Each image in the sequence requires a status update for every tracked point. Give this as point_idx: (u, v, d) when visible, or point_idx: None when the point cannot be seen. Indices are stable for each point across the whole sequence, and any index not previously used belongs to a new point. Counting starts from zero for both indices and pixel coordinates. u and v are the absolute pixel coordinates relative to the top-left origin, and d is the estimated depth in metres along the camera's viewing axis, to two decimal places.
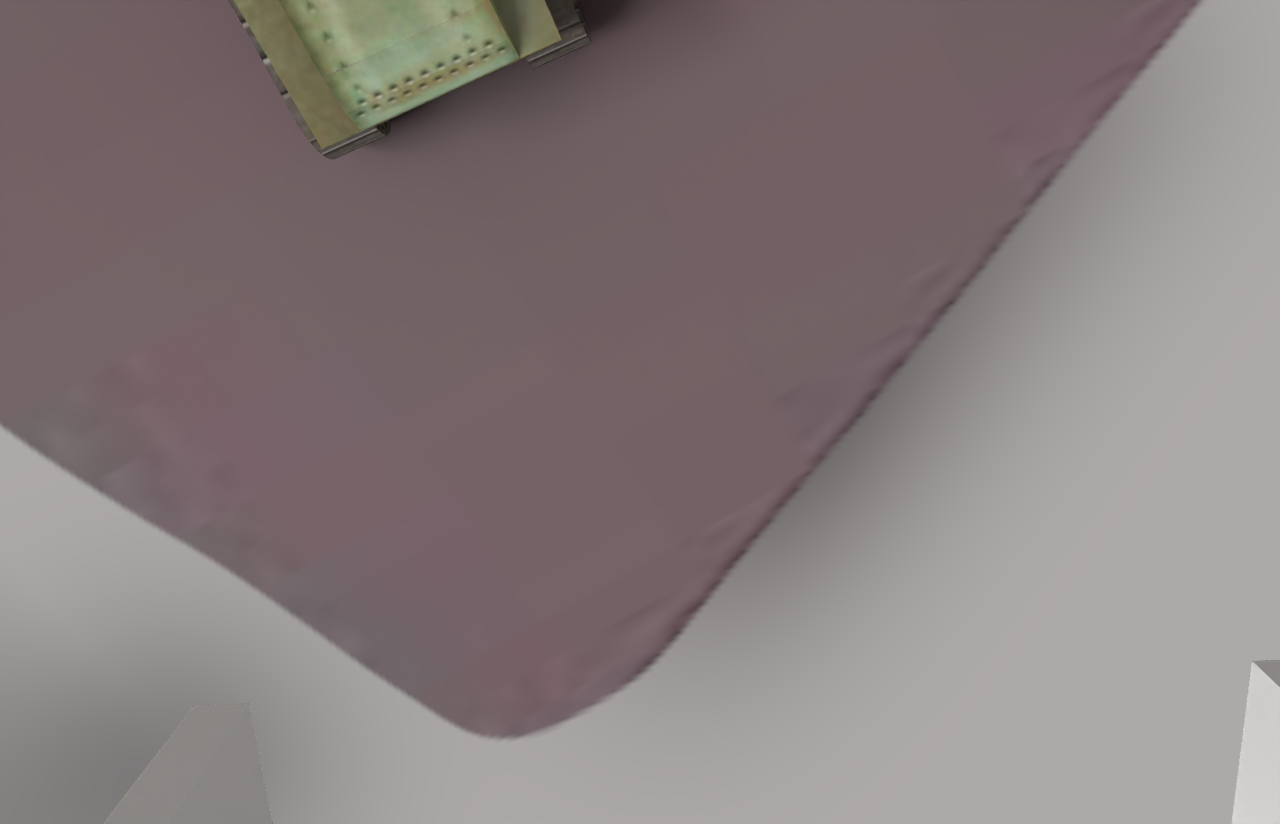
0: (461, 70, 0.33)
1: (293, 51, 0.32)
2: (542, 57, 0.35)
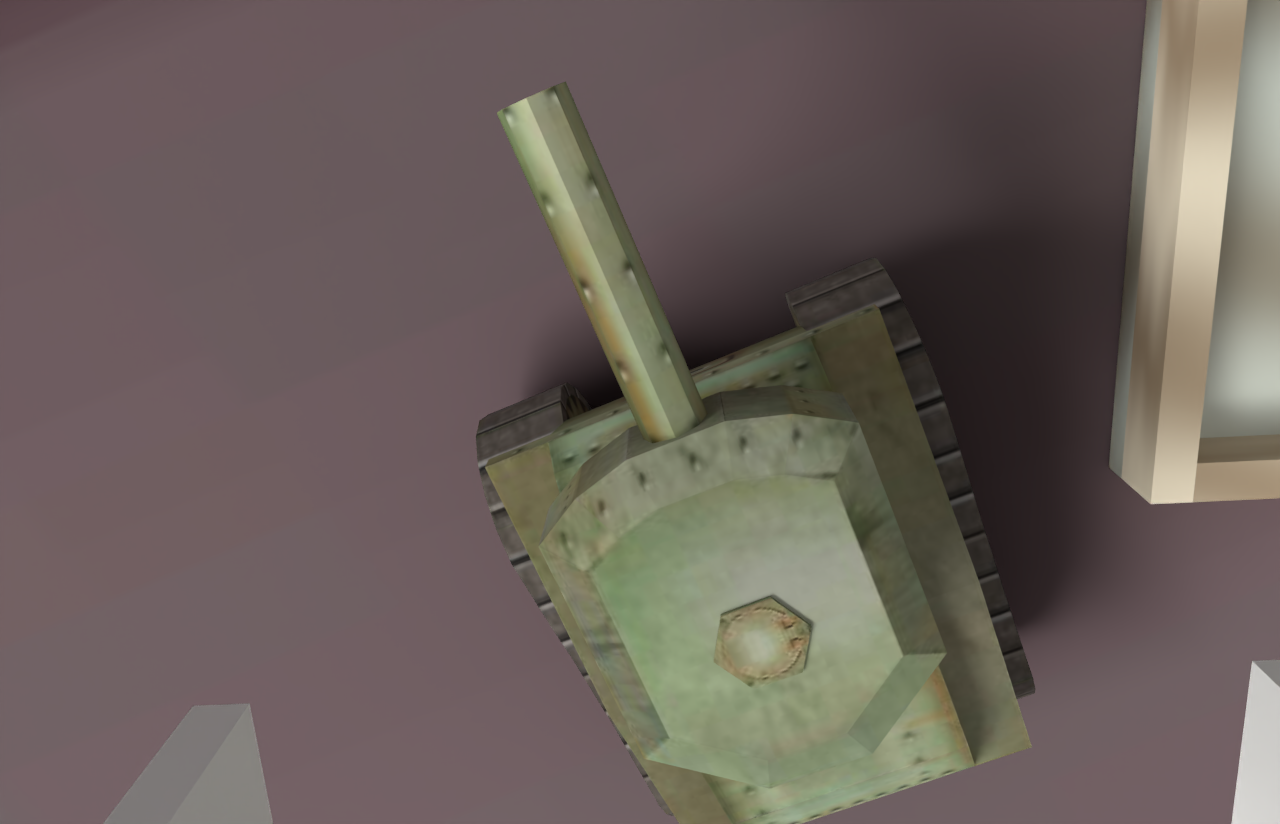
0: (901, 789, 0.25)
1: (687, 777, 0.25)
2: None
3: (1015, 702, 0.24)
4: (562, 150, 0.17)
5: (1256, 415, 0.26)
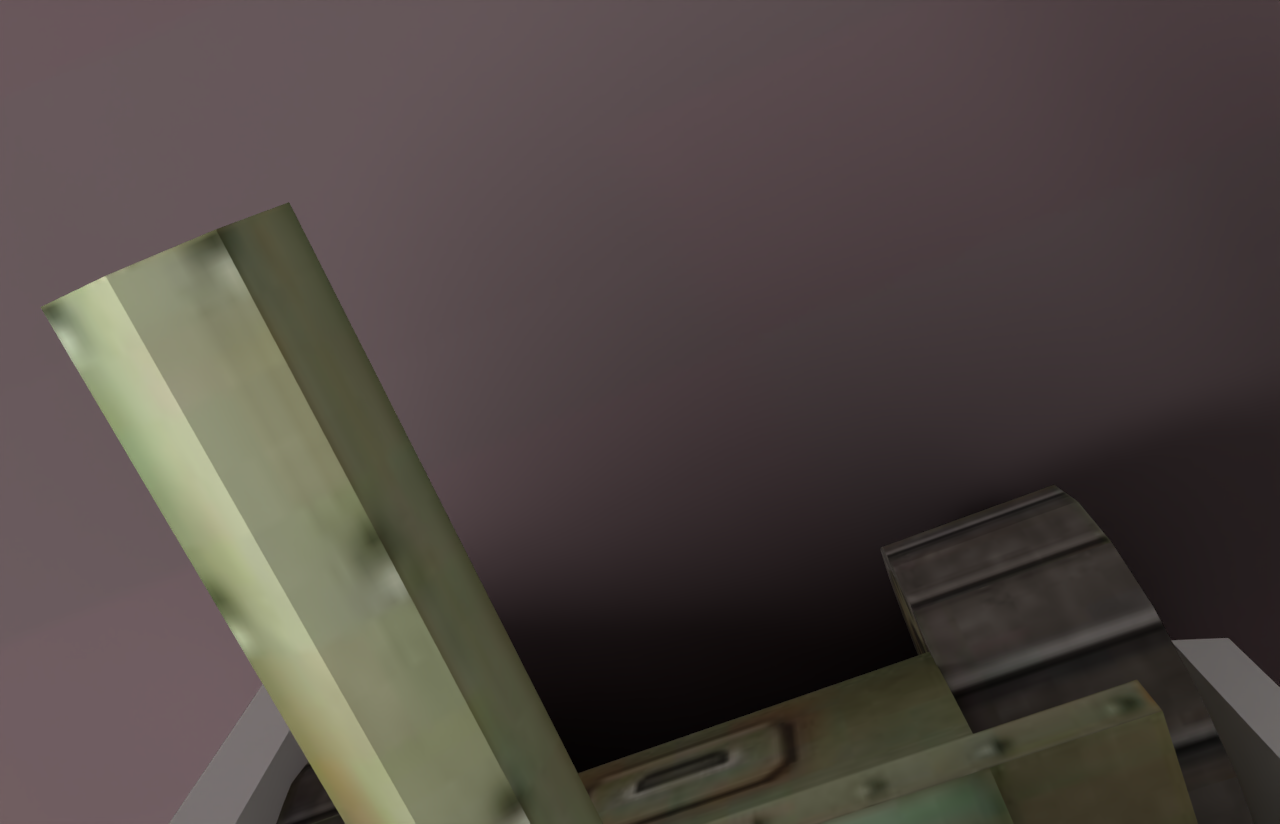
0: None
1: None
2: None
3: None
4: (264, 454, 0.05)
5: None
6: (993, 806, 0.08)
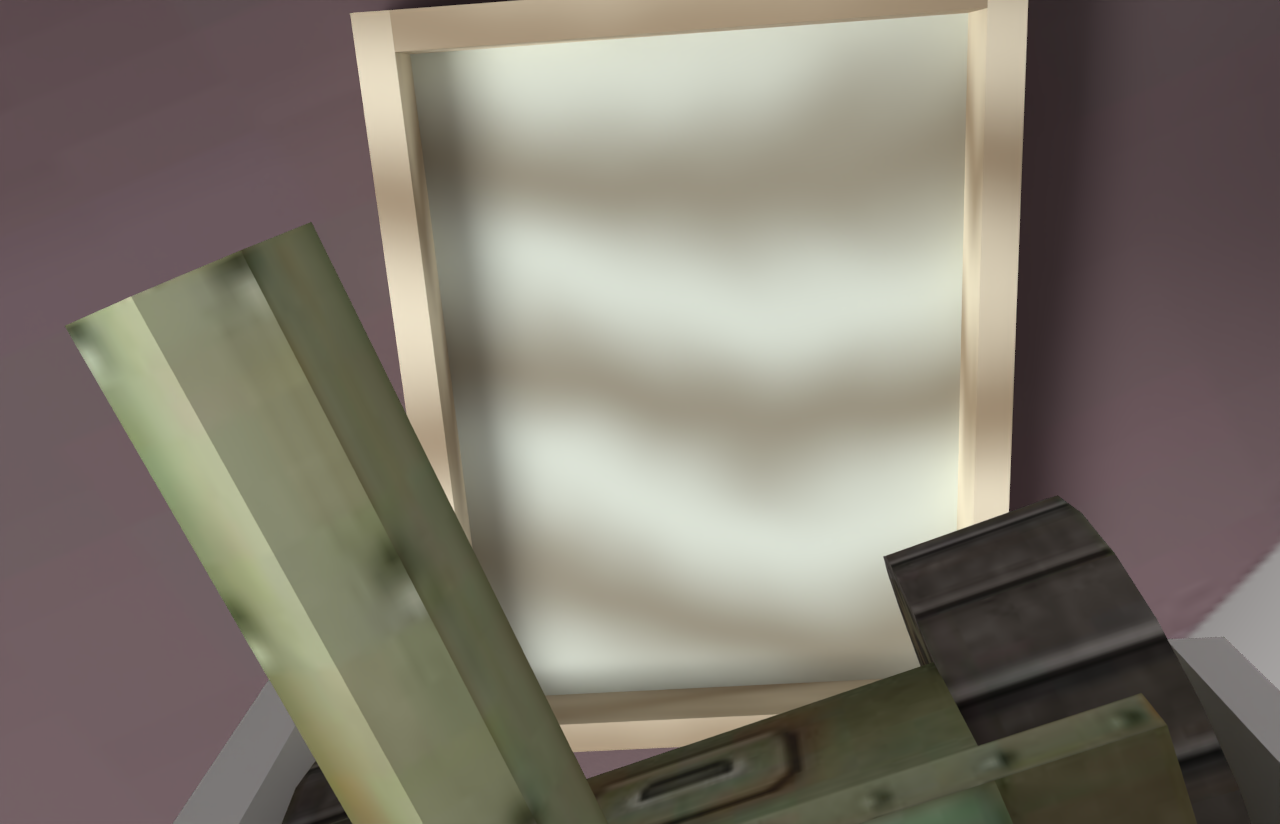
0: None
1: None
2: None
3: None
4: (285, 473, 0.05)
5: (557, 680, 0.34)
6: (998, 818, 0.08)
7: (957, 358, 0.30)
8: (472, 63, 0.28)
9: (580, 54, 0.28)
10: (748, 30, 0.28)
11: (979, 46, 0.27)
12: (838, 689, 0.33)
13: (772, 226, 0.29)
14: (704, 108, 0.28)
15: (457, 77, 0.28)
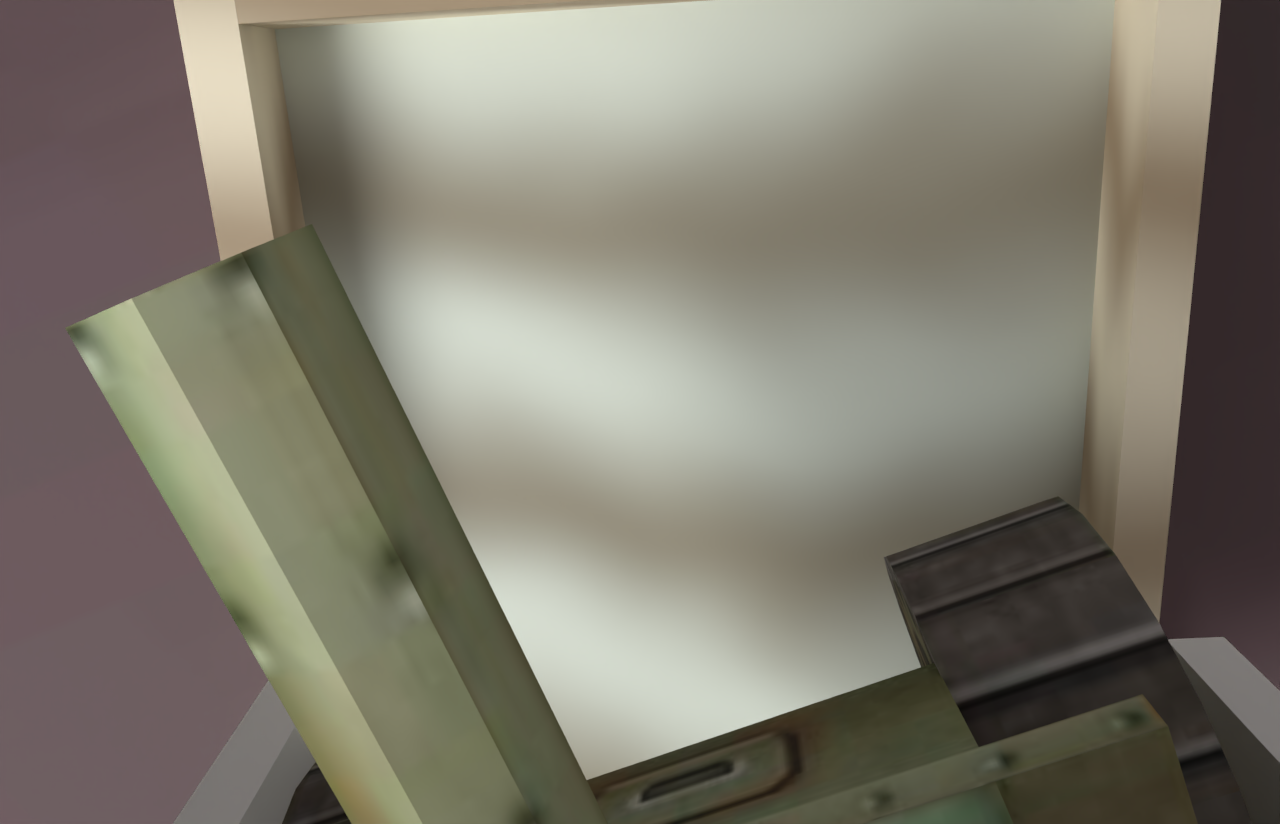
0: None
1: None
2: None
3: None
4: (286, 475, 0.05)
5: None
6: (999, 820, 0.08)
7: (1076, 478, 0.21)
8: (368, 43, 0.19)
9: (530, 31, 0.19)
10: None
11: (1139, 22, 0.17)
12: None
13: (813, 288, 0.20)
14: (715, 114, 0.19)
15: (346, 65, 0.19)
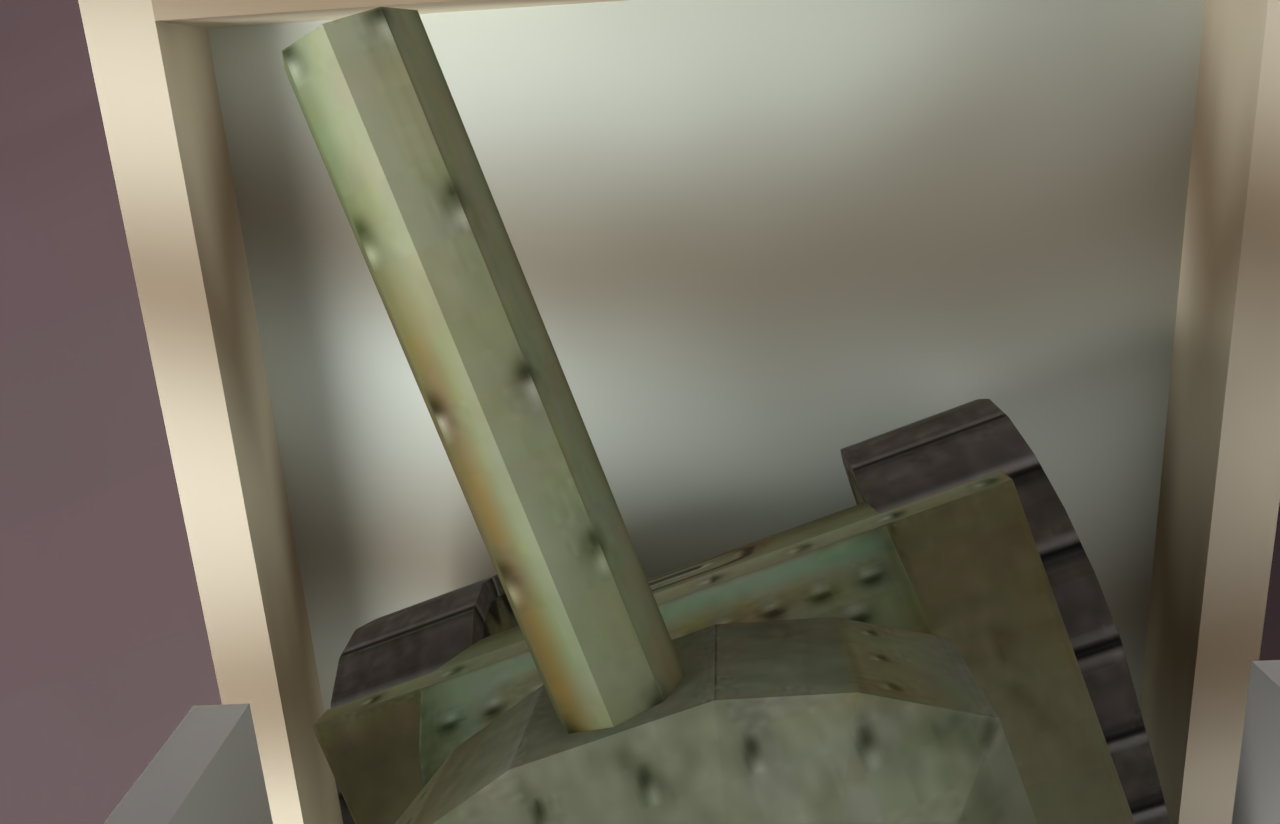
0: None
1: None
2: None
3: None
4: (395, 133, 0.08)
5: None
6: (885, 546, 0.11)
7: (1148, 551, 0.18)
8: None
9: (510, 31, 0.16)
10: None
11: (1241, 19, 0.14)
12: None
13: (844, 332, 0.17)
14: (729, 128, 0.16)
15: None
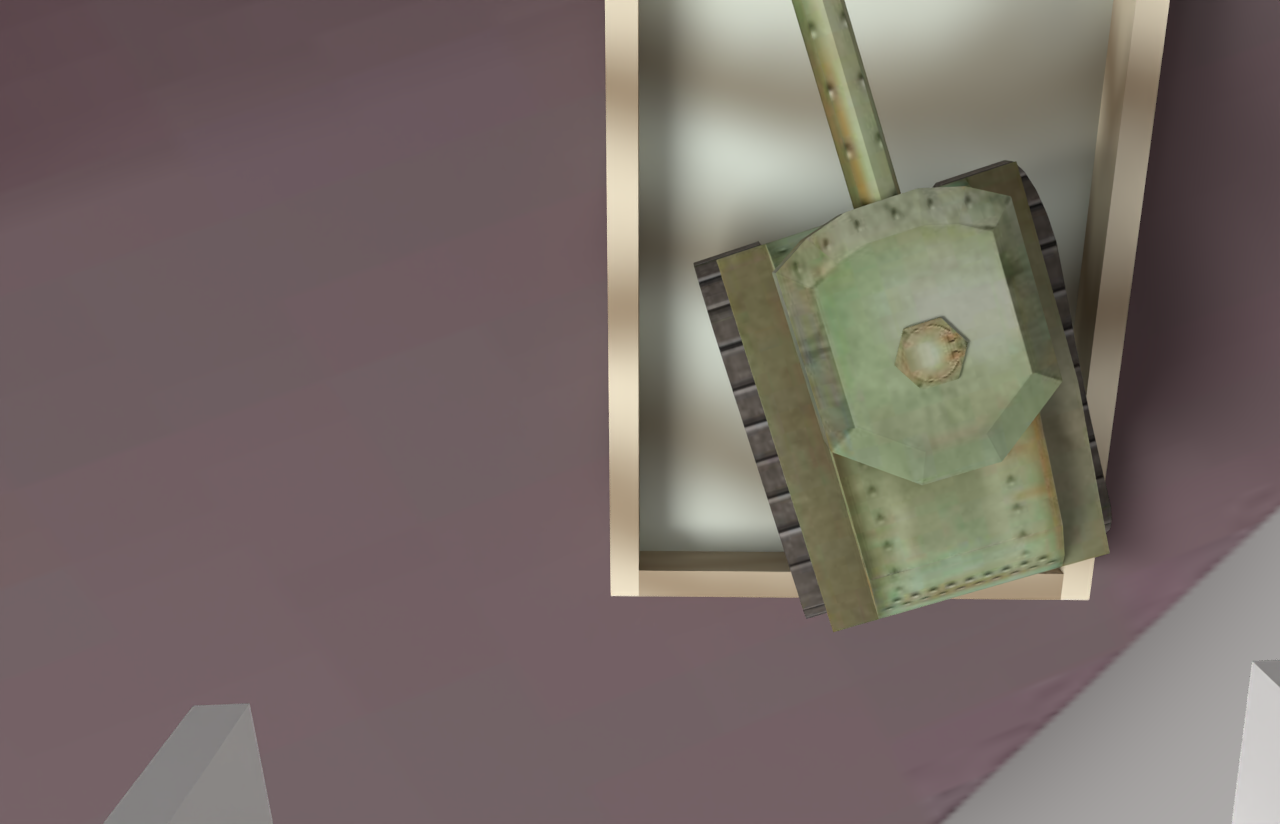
0: (1003, 576, 0.31)
1: (834, 544, 0.31)
2: None
3: (1099, 504, 0.31)
4: None
5: (699, 537, 0.38)
6: (964, 184, 0.28)
7: (1078, 269, 0.35)
8: None
9: None
10: None
11: None
12: None
13: (932, 141, 0.34)
14: (885, 34, 0.33)
15: None
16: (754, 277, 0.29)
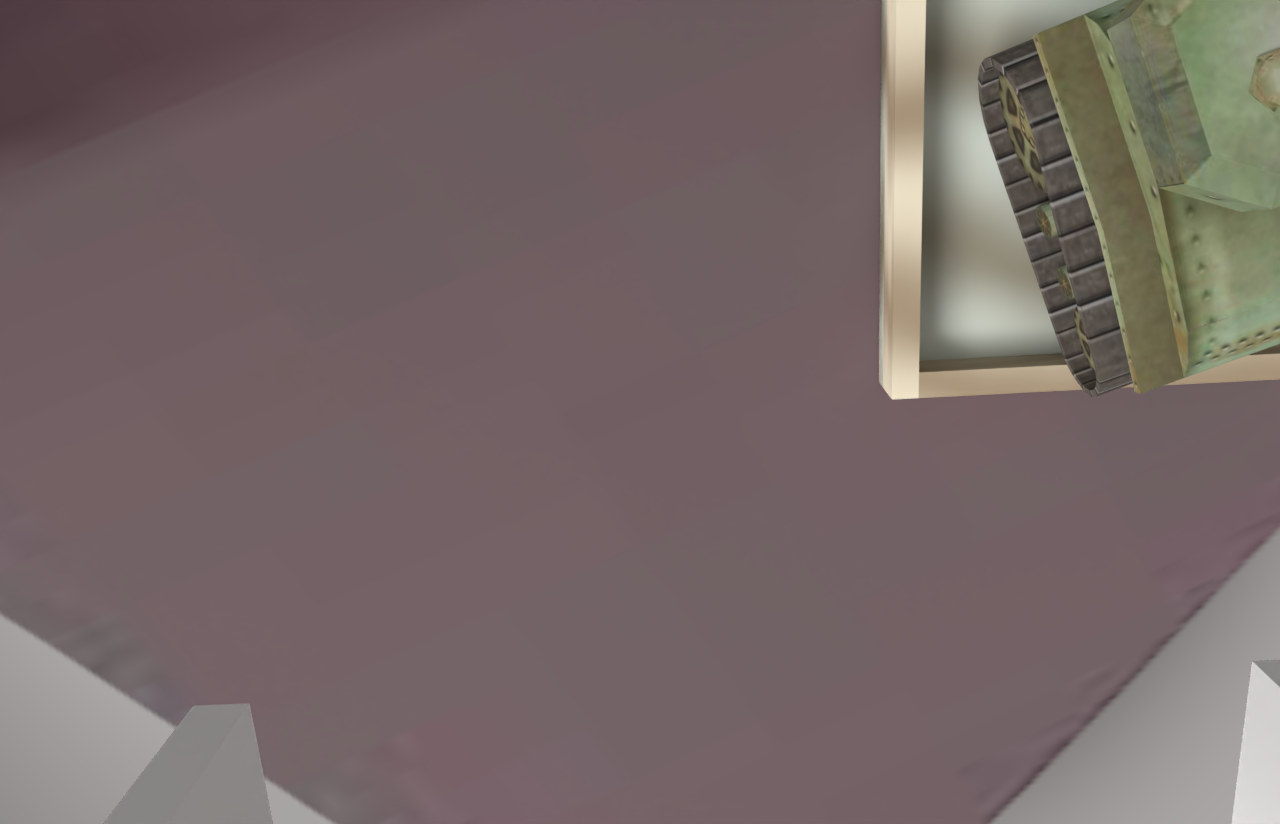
0: None
1: (1147, 304, 0.33)
2: None
3: None
4: None
5: (966, 345, 0.40)
6: None
7: None
8: None
9: None
10: None
11: None
12: None
13: None
14: None
15: None
16: (1073, 47, 0.31)
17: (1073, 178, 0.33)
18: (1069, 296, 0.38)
